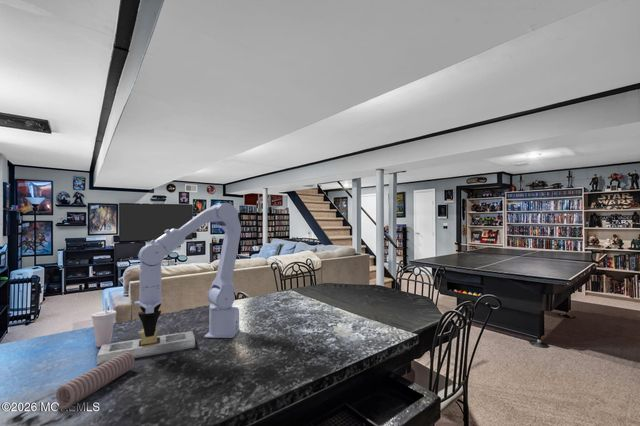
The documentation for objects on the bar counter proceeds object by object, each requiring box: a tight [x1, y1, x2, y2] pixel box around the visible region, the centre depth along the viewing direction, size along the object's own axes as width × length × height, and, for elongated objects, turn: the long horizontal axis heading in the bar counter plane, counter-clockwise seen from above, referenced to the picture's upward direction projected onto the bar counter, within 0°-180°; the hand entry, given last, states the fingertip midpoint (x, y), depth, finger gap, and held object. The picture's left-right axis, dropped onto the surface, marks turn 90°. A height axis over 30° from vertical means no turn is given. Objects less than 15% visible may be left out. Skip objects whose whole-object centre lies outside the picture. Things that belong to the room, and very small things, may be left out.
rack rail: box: [96, 330, 196, 366], centre depth 90 cm, size 24×8×2 cm, turn 118°
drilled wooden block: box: [137, 326, 161, 346], centre depth 90 cm, size 6×4×6 cm
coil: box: [55, 352, 135, 410], centre depth 70 cm, size 5×5×18 cm
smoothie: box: [90, 297, 117, 348], centre depth 95 cm, size 6×6×14 cm
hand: (150, 332), depth 90 cm, fingers open, 7 cm apart
